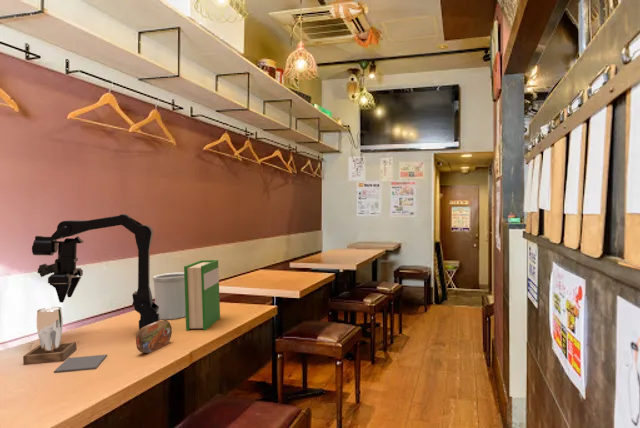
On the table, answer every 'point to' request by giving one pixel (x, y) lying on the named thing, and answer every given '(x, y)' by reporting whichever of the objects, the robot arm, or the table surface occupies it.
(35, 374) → the table surface
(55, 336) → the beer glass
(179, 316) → the utensil holder
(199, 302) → the hardback book
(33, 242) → the robot arm
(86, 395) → the table surface
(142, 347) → the tin
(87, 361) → the rubber mat
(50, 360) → the brown square tray
